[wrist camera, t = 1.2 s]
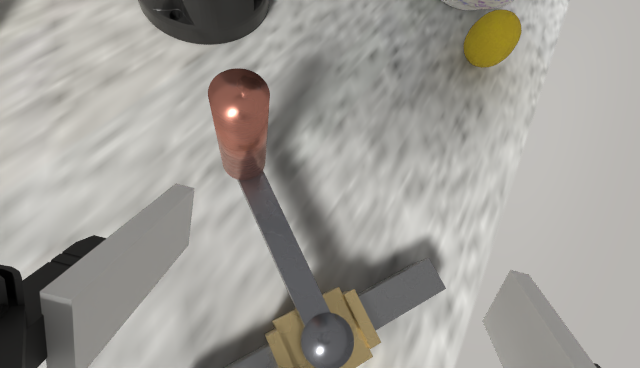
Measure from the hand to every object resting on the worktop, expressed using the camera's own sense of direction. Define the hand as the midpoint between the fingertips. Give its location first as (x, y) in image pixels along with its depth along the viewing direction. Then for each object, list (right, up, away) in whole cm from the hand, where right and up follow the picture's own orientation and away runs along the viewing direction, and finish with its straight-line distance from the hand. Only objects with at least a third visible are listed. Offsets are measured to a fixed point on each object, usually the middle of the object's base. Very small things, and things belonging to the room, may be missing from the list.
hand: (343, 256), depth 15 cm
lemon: (+19, +19, +32) cm, 42 cm away
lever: (-4, -2, +15) cm, 16 cm away
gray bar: (-1, -11, +17) cm, 20 cm away
